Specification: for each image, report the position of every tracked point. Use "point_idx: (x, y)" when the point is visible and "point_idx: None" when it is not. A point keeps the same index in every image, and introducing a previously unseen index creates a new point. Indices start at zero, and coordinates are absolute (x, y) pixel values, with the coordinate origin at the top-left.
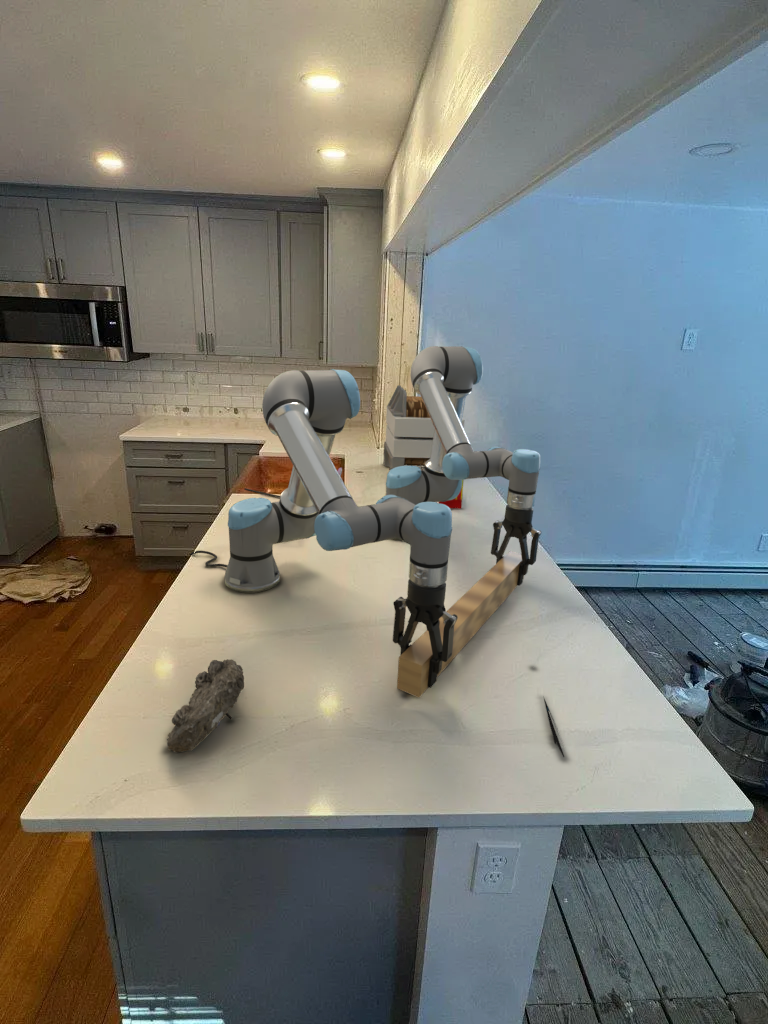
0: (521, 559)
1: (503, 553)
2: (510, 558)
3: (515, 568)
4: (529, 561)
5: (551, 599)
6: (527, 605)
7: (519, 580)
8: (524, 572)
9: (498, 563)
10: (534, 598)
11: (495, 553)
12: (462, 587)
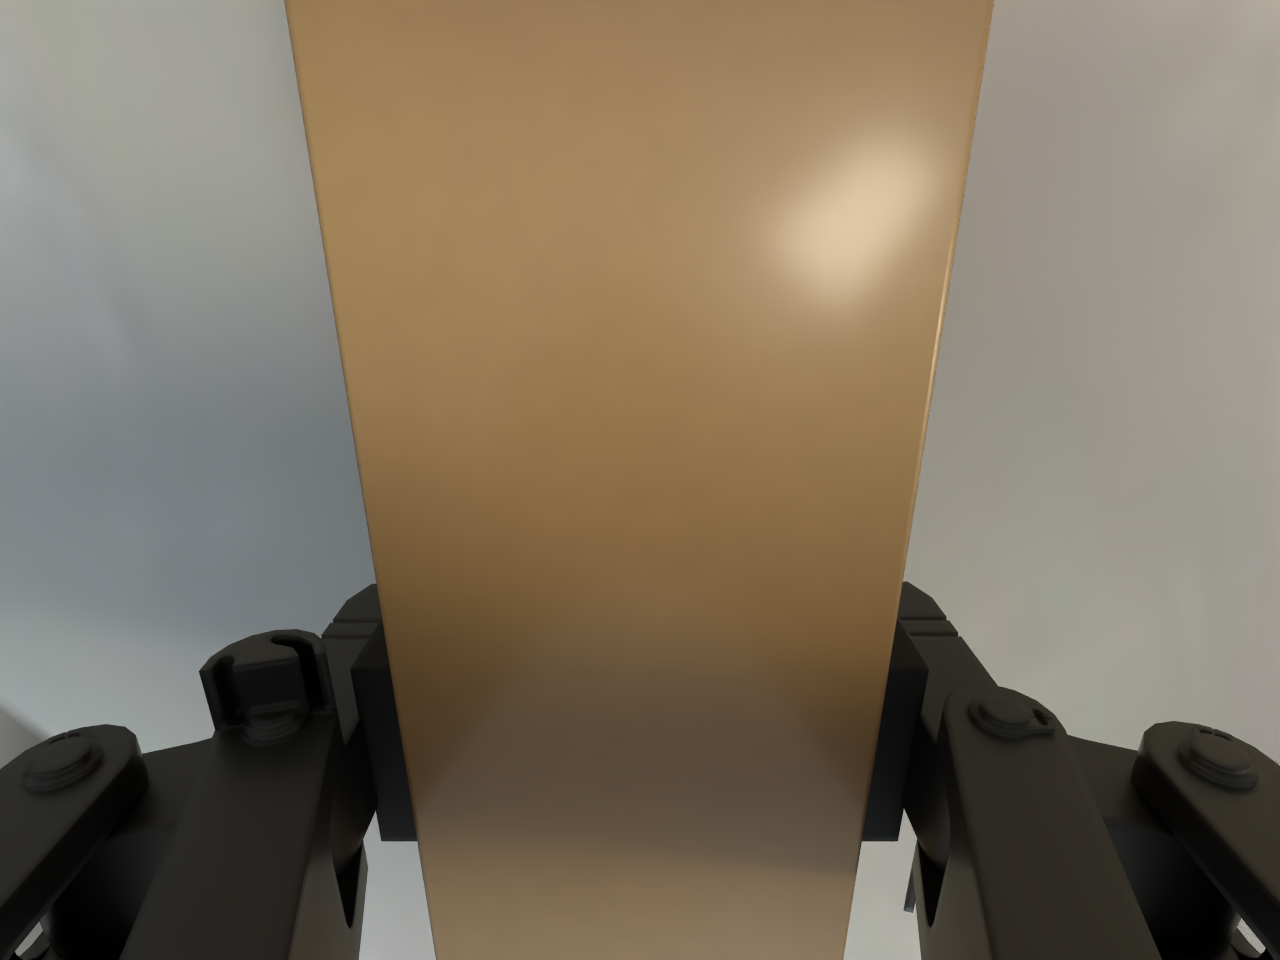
0: (446, 861)
1: (919, 894)
2: (688, 777)
3: (354, 346)
4: (92, 790)
5: (73, 463)
6: (197, 88)
7: None
8: (367, 611)
9: (896, 277)
10: (236, 362)
11: (1123, 786)
12: (1225, 40)
